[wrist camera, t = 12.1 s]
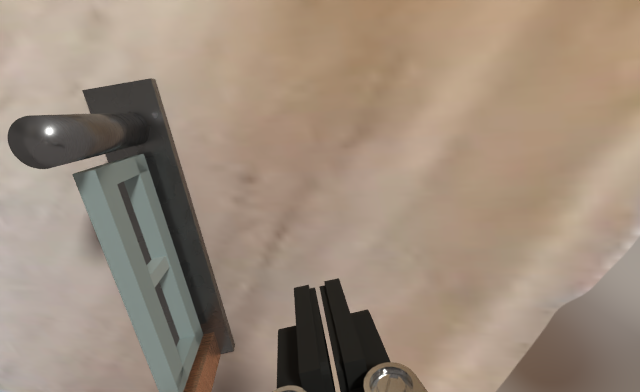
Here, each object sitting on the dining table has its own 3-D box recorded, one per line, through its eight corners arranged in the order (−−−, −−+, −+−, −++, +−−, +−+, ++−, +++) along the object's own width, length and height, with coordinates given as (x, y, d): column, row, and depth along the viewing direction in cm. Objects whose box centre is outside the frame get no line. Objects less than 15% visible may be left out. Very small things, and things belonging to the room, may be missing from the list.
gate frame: (183, 356, 38) (135, 478, 25) (88, 90, 30) (-53, 78, 17) (234, 344, 38) (211, 459, 26) (155, 79, 30) (63, 59, 17)
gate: (127, 156, 30) (72, 174, 22) (143, 153, 30) (95, 169, 22) (189, 337, 35) (163, 401, 27) (203, 334, 35) (181, 397, 28)
